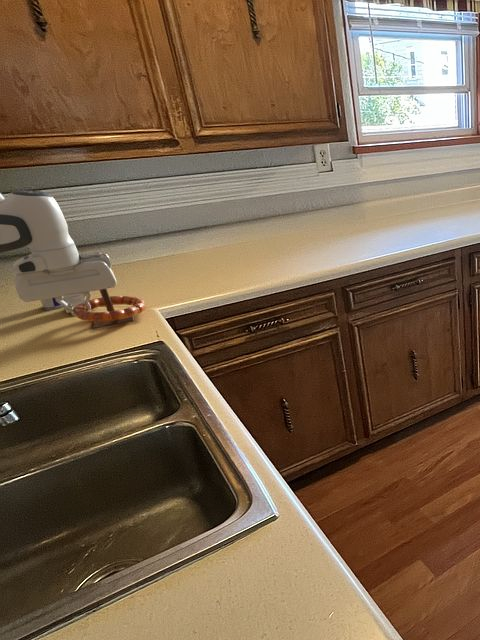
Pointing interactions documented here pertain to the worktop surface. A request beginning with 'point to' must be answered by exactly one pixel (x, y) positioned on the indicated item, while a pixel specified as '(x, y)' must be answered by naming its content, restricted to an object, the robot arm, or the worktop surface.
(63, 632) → the worktop surface
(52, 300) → the energy drink
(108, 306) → the post
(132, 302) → the ring
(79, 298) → the medicine box
